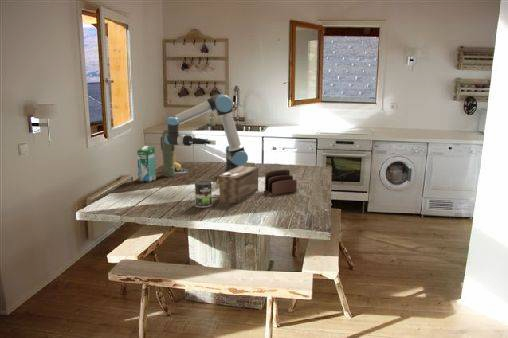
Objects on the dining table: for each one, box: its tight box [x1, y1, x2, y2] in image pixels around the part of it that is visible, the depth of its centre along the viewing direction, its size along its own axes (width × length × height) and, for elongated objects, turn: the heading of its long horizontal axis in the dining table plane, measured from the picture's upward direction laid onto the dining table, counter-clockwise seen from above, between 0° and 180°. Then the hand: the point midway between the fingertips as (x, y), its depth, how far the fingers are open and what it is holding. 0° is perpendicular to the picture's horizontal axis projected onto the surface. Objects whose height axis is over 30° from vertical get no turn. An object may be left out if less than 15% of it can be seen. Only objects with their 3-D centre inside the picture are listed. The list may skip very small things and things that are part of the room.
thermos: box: [160, 129, 176, 178], centre depth 353 cm, size 9×12×35 cm
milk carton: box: [136, 145, 157, 183], centre depth 339 cm, size 9×9×25 cm
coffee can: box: [194, 180, 212, 209], centre depth 281 cm, size 10×10×14 cm
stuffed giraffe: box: [173, 151, 188, 174], centre depth 371 cm, size 16×18×16 cm
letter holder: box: [264, 169, 297, 196], centre depth 314 cm, size 10×20×14 cm, turn 120°
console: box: [217, 165, 259, 204], centre depth 303 cm, size 14×33×17 cm, turn 158°
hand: (215, 142), depth 315 cm, fingers closed
